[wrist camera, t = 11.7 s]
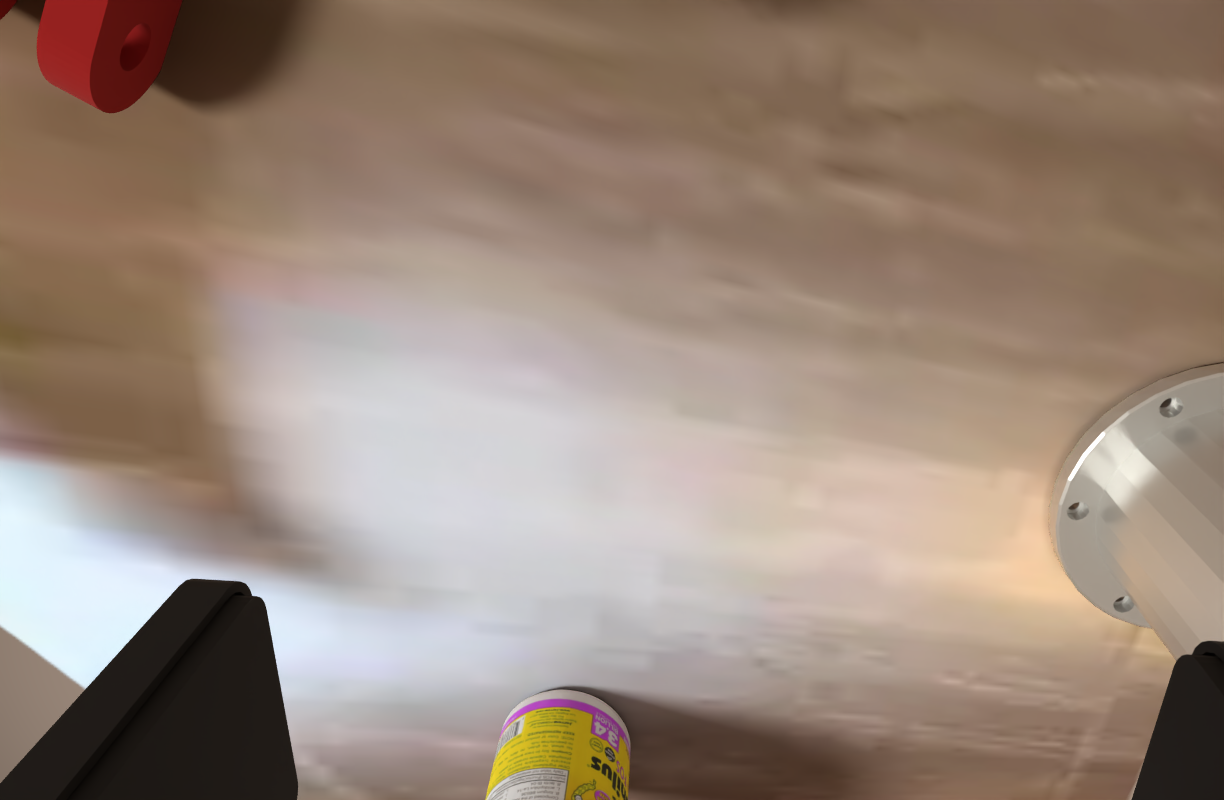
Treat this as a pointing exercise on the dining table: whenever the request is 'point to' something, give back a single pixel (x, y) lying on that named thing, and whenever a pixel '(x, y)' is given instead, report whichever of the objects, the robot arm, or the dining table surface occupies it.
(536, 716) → the supplement bottle
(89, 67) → the mechanical linkage
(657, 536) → the dining table surface
